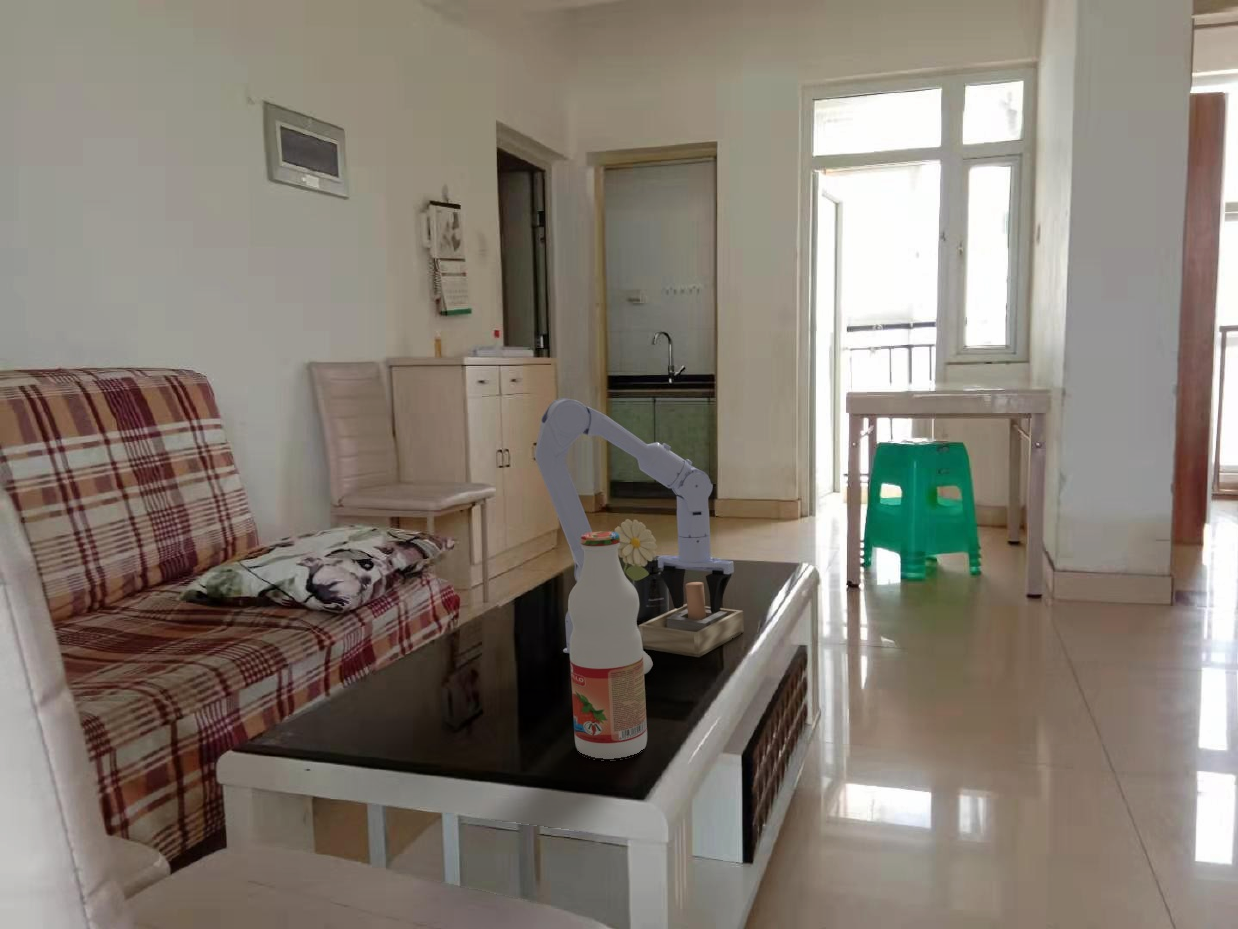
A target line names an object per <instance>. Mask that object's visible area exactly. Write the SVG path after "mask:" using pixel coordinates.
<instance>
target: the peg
mask: <svg viewBox="0 0 1238 929" xmlns="http://www.w3.org/2000/svg"><path fill="white" fill-rule="evenodd" d="M704 586H705V585H704V582H701V581H695V582H694V581H693V582H688V583H686V584H685V594H686V595H685V597H686V604H687V608H688V618H691V619H699V620H703V619H705V618H706V609H705V606H706V599H705V598H706V596H705V588H704Z"/></svg>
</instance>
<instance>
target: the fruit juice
mask: <svg viewBox="0 0 1238 929" xmlns="http://www.w3.org/2000/svg"><path fill="white" fill-rule="evenodd" d="M619 543H620V538H619V534H618V533H616V532H615V531H610V530H609V531H605V530H604V531H592V532H591V533H586V534H583V535H582V536H581V545H582V549H583V550H584V563H583V568H582V573H581V575H580V578H579V580H578V582H576V583H575V585H574V586H573V587H572V589H571V591H570V593H569V595H568V598H567V599H568V602H567V608H568V610H569V614H570V617H571V620H572V623H573V631H572V634H571V637H570V653H569V662H570V663H569V664H570V665H569V666H570V680H571V681H570V682H571V683H570V684H571V696H572V697H571V699H572V712H573V713H572V715H573V731H574V743H575V749H576V750H577V752H578V751H579V752H580V753H582V754H585V755H588V756H591V757H595V758H603V759H614V758H621V757H627V756H630V755H634V754H637V753H639V752H640V751H641V750H643V749H644V750H645V748H646V746H647V742H648V727H647V709H646V708H647V707H646V689H645V688H646V685H645V674H644V664H643V651H644V648H643V645H642V638H641V634H640V631H639V627H638V624H637V623H638V622H637V621H638V620H637V616H638V612H639V596H638V593H637V591H636V589H635V587H634V586H633V582H631V581H630V580H629V579H628V578H627V576H626V575H625V573H624V572H623V570H624V569H623V568H622V565H621V561H620V556H619V555H618V547H619V546H620V544H619ZM568 610H567V611H568ZM644 750H643V751H644ZM579 752H578V753H579ZM641 752H642V751H641ZM641 752H640V753H641ZM580 753H579V754H580ZM640 753H639V754H640ZM637 755H638V754H637Z"/></svg>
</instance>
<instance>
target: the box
mask: <svg viewBox="0 0 1238 929" xmlns="http://www.w3.org/2000/svg"><path fill="white" fill-rule="evenodd" d="M705 609H706V618H705V619H703V620H699V619H691V618H688V608H687V603H684V604H683V607H681V608H678V609H675V608H674V609H672V610H669V612H667V613H665V614H663V615H660V616H658V617H656V618H654V619H652V620H649V621H647V622H642V623H641V624H639V625H638V624H637V627H638V629H639V631H640V634H641V638H642V645H643V650H644V649H645V650H651V651H657V652H662V653H663V652H664V653H671V654H676V655H681V656H689V657H695V658H700V657H702V656H704V655H706V654H708V653H710V652H711V651H713V650H715V649H716V648H718V647H720V646H722V645H724V644H725V643H728V642H730V641H731V640H733V639H735V638H736V637H738V636H740V635H741V633H742V634H744V633H745V632H744V631H745V630H744V610H739V609H731V608H723V607H721V608H720V611H719V612H717V613H715V614H714V613H711V608H710V606H707V605H705ZM743 632H744V633H743ZM732 638H733V639H732Z"/></svg>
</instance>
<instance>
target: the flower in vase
mask: <svg viewBox="0 0 1238 929" xmlns="http://www.w3.org/2000/svg"><path fill="white" fill-rule="evenodd" d="M646 528H647V526H646V525H645V524H644V523H643V522H641V521H638V519H633V520H631V519H628V518H626V519H625V521H623V522H621V524H620V526H617V527H615V528H614V532H616V533H618V534H619V538H620V543H619V544H620V546H619V547H618V557H619V558H622V562H623V563H624V567H623V569H622V570H623V572H624V574H626V575H627V576H628V577H629V578H630V579H631V580H632V581H633V580H636V581H637V580H640V579H643V578H645V577H646V576H648V575H649V573H648V572H647V571H646V570H645V569H644V568H643V567H641V566H645V565H647V560H648V561H652V560H653V557H656V556H657V553H656V550H657V549H658V545H657V544H656V542H657V539H656V538H655V536H654V534H652V530H650V529H646ZM628 564H629V565H630V566H628ZM627 566H628V567H627ZM643 664H644V675H646V674H648V673H649V672H650V671H651V669H652V667H653V665H654V664H653V661H652V657H651V656H650V655H648V653H646V651H644V650H643Z"/></svg>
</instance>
